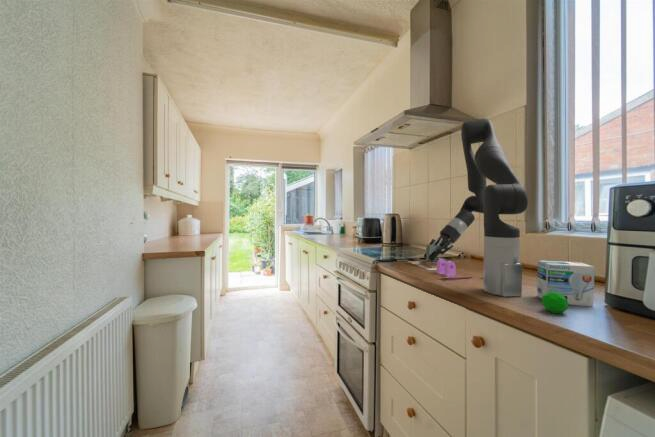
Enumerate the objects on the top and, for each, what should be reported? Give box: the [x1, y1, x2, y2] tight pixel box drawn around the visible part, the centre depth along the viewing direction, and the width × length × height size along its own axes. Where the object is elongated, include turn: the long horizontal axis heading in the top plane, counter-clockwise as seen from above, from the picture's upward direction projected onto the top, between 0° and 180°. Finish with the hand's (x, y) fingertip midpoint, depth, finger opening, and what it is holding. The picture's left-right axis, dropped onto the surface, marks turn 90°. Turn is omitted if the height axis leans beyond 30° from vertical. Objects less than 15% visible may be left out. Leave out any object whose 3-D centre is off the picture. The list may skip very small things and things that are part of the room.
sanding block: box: [419, 244, 439, 269], centre depth 118 cm, size 10×6×9 cm, turn 9°
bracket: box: [436, 258, 473, 281], centre depth 103 cm, size 13×6×7 cm, turn 108°
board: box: [407, 260, 437, 271], centre depth 121 cm, size 20×11×2 cm, turn 9°
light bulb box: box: [536, 259, 596, 307], centre depth 76 cm, size 11×7×11 cm, turn 73°
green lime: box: [541, 292, 569, 314], centre depth 67 cm, size 5×5×5 cm
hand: (427, 258), depth 118 cm, fingers closed on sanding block, 3 cm apart
